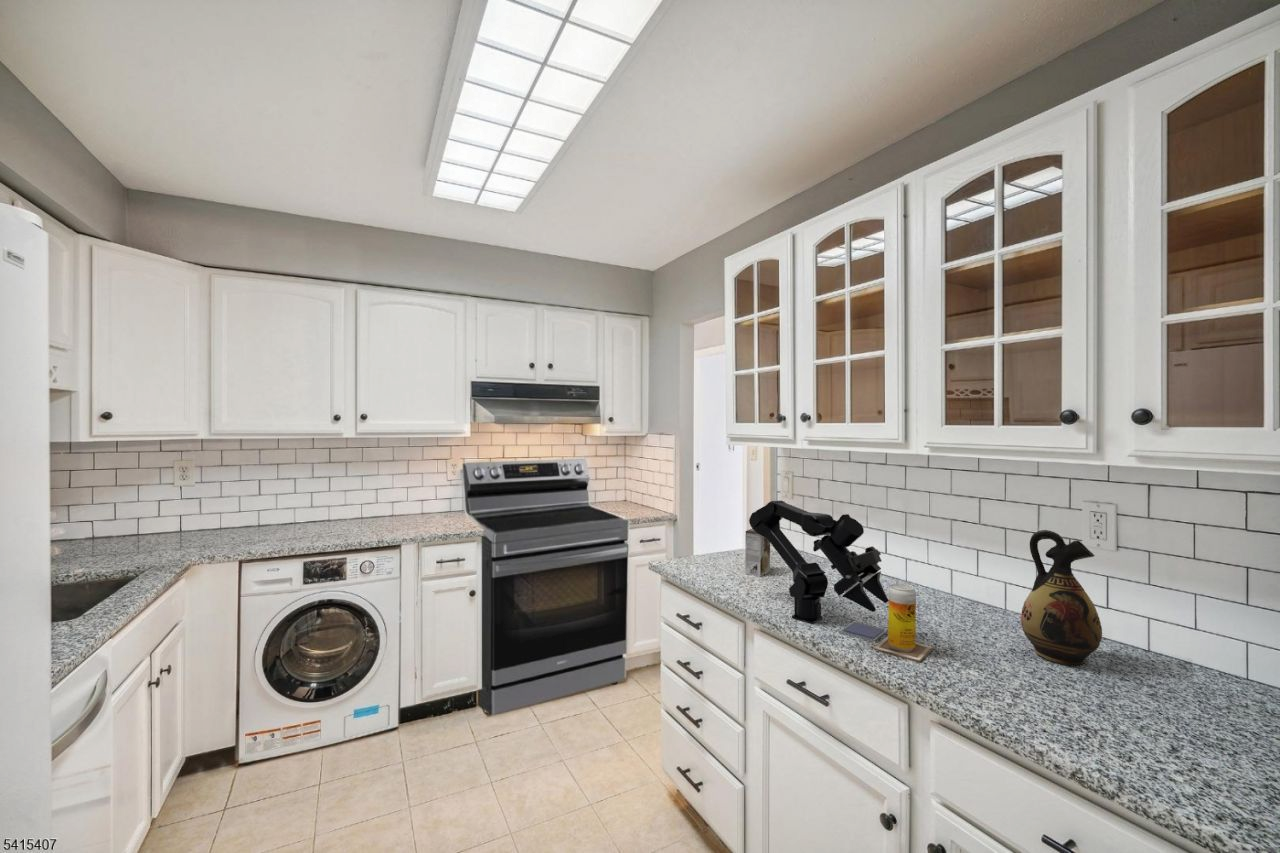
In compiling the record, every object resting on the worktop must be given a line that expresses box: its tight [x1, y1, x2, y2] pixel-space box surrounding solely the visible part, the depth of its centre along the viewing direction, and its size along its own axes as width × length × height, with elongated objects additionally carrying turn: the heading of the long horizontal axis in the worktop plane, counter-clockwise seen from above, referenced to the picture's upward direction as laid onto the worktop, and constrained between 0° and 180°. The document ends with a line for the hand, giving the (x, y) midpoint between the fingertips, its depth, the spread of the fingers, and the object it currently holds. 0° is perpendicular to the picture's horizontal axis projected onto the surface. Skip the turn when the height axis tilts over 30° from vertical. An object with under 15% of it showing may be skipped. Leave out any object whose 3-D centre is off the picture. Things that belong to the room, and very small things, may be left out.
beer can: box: [887, 583, 917, 652], centre depth 135 cm, size 6×6×15 cm
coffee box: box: [744, 528, 771, 577], centre depth 203 cm, size 9×6×16 cm
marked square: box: [872, 635, 935, 664], centre depth 135 cm, size 11×11×1 cm
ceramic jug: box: [1012, 529, 1103, 667], centre depth 131 cm, size 17×15×30 cm
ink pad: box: [839, 621, 888, 643], centre depth 145 cm, size 9×9×1 cm
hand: (881, 606), depth 138 cm, fingers open, 9 cm apart
